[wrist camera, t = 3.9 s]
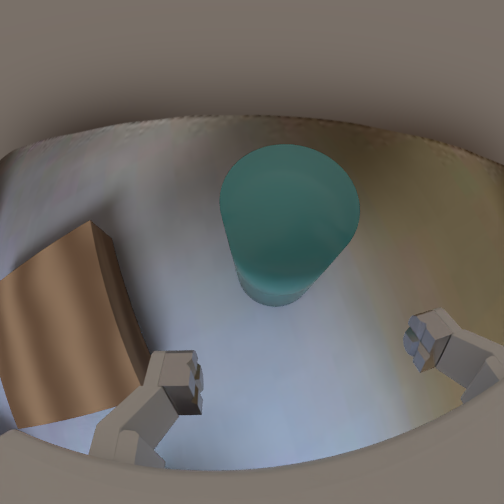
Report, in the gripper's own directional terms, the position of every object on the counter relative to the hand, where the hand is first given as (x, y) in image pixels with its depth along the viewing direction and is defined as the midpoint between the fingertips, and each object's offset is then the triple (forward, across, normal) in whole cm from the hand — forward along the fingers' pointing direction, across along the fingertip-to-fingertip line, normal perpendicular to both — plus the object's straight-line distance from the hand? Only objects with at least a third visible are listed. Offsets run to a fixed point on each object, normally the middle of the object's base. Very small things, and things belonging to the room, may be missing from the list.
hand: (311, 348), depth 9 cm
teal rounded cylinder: (+12, 0, +4) cm, 13 cm away
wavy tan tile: (+9, +19, +7) cm, 22 cm away
